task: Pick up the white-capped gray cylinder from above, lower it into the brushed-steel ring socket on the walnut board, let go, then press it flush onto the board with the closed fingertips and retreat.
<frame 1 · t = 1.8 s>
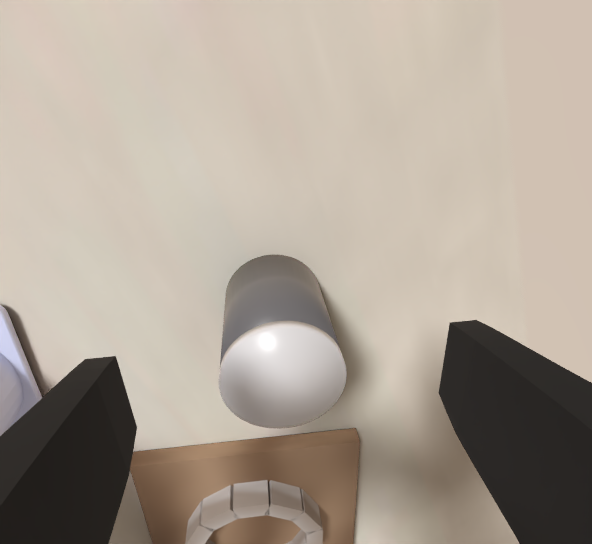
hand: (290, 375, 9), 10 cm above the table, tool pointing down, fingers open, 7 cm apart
white-capped gray cylinder: (273, 297, 20), on the table
socket board: (254, 509, 27), on the table
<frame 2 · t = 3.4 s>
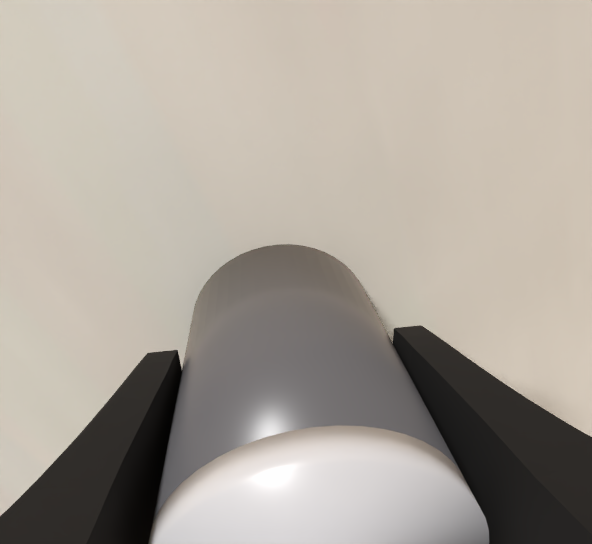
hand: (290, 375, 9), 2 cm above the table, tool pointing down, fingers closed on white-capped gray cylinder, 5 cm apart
white-capped gray cylinder: (282, 325, 11), on the table, touching gripper
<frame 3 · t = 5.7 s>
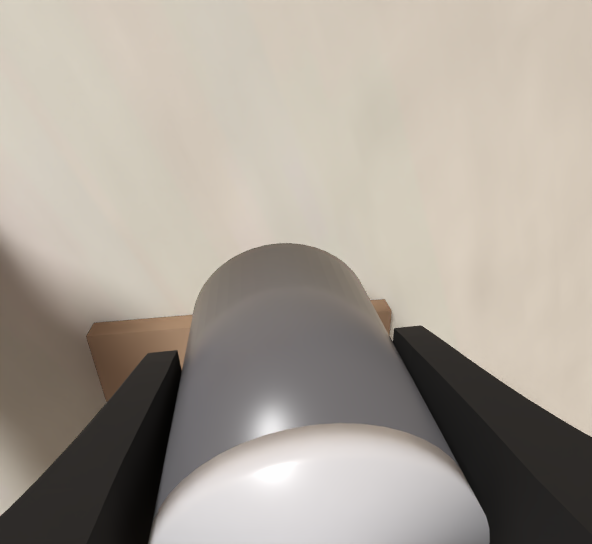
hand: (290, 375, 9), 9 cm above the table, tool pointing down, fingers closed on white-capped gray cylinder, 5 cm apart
white-capped gray cylinder: (282, 324, 11), point 7 cm above the table, touching gripper
socket board: (254, 416, 22), on the table
when the fingers open (4 cm above the table, at t = 8.1 s): white-capped gray cylinder stays where it is, resting on socket board.
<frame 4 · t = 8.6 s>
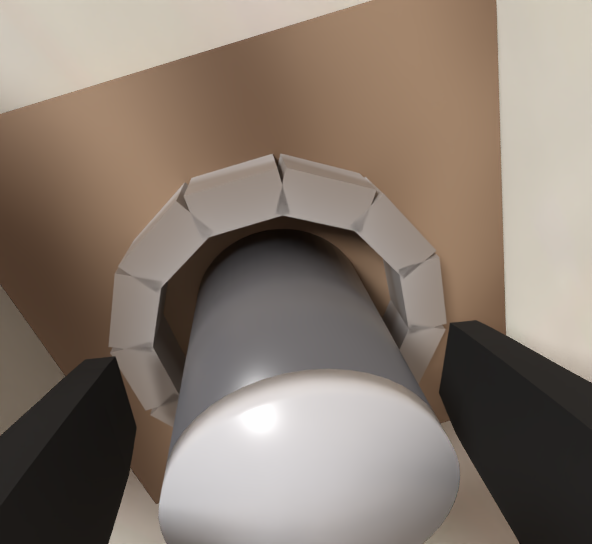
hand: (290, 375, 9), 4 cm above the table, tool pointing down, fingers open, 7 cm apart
white-capped gray cylinder: (280, 305, 12), point 1 cm above the table, touching socket board
socket board: (277, 289, 13), on the table
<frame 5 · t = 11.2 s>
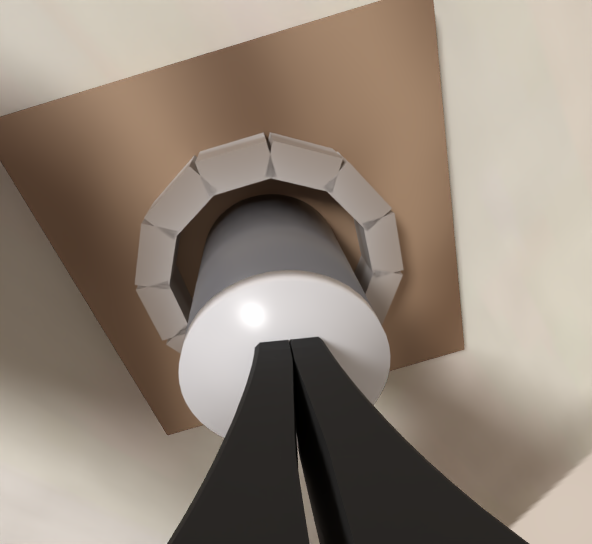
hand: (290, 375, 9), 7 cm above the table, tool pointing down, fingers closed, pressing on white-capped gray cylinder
white-capped gray cylinder: (271, 258, 14), point 1 cm above the table, touching gripper, socket board
socket board: (269, 247, 15), on the table
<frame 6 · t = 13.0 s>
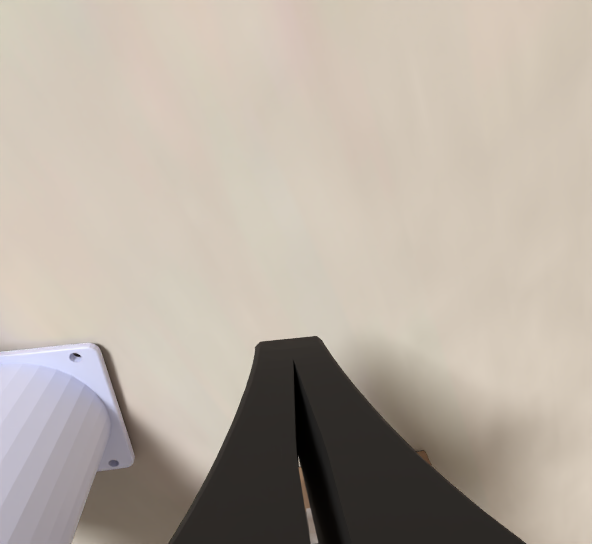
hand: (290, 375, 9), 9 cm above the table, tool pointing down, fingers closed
socket board: (320, 530, 28), on the table
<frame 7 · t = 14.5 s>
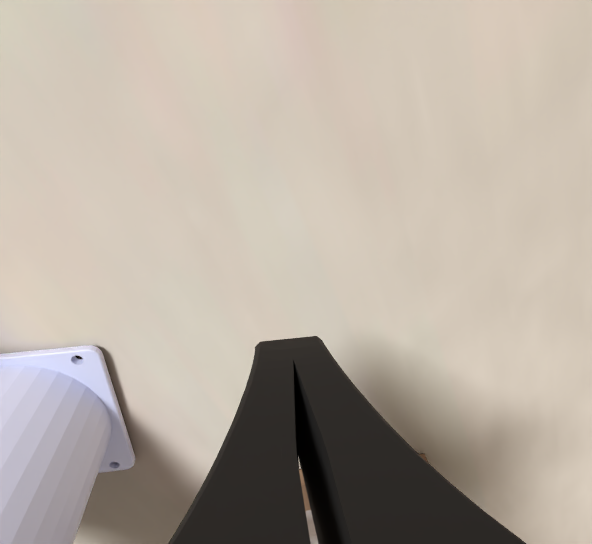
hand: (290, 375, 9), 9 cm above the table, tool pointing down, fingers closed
socket board: (320, 532, 28), on the table
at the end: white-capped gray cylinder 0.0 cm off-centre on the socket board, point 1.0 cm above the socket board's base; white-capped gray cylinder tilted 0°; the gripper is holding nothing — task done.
